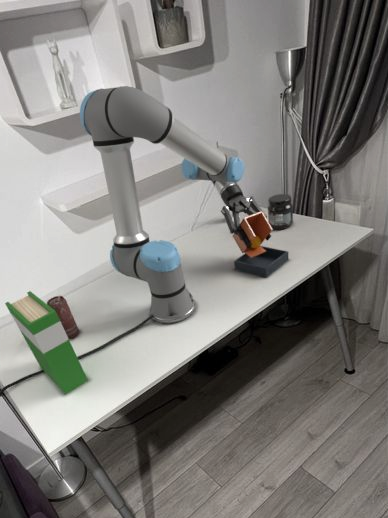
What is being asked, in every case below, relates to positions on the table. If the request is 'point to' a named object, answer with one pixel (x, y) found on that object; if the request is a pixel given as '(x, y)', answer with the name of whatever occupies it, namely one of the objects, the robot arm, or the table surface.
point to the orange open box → (254, 233)
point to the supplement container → (280, 211)
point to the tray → (262, 262)
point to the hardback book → (48, 341)
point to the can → (64, 316)
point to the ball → (256, 242)
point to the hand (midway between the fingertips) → (259, 242)
